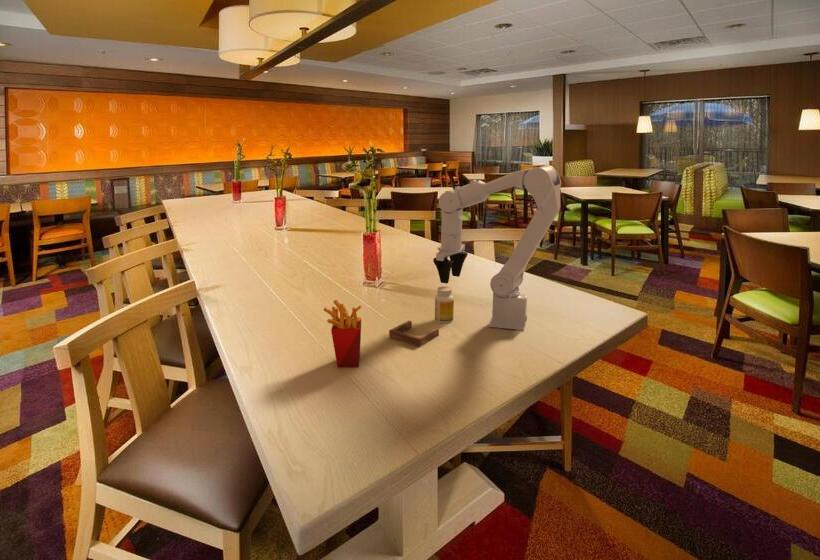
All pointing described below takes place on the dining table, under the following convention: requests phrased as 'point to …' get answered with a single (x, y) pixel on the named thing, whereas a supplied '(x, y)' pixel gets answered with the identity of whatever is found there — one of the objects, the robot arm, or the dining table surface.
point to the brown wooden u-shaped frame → (417, 341)
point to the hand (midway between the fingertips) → (450, 279)
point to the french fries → (345, 335)
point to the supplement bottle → (444, 305)
